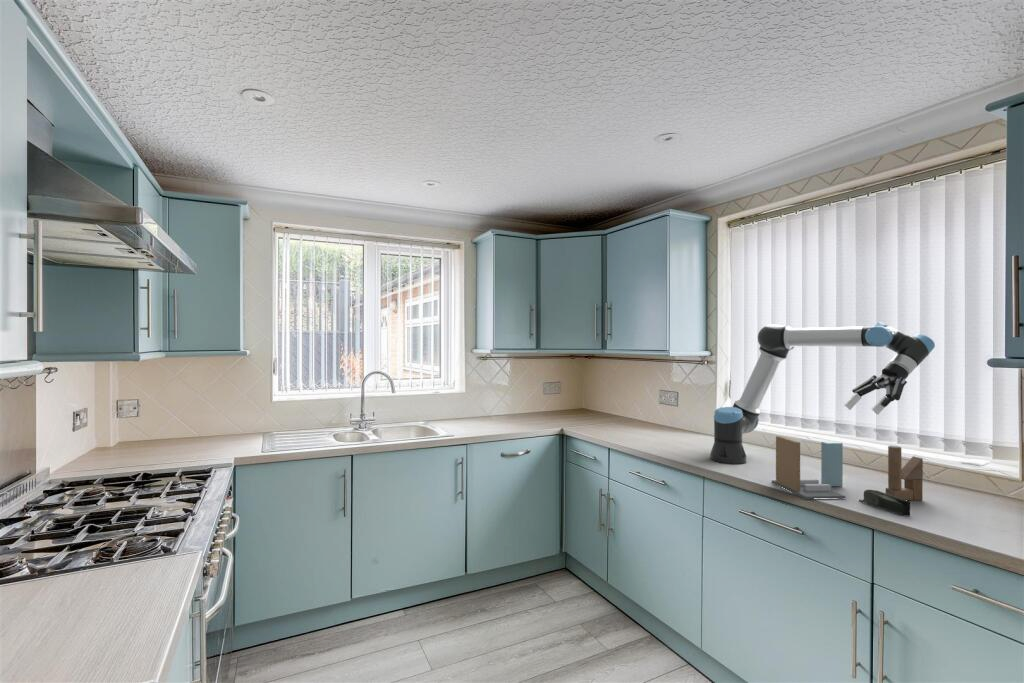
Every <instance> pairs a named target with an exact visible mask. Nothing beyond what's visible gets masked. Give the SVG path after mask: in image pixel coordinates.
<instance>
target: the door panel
mask: <svg viewBox="0 0 1024 683" xmlns="http://www.w3.org/2000/svg"><path fill="white" fill-rule="evenodd" d="M843 446H844V445H843V443H842V442H840V441H821V451H820V452H821V456H820V458H821V459H820V461H821V462H820V463H821V464H820V465H821V466H820V467H821V468H820V469H821V472H820V473H821V476H820V477H821V478H820V480H821V483H820V484H829V485H831V486H843V480H844V479H843V476H844V473H843V465H844V464H843V461H844V460H843V457H844V455H843V454H844V453H843V448H844V447H843Z"/></svg>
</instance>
